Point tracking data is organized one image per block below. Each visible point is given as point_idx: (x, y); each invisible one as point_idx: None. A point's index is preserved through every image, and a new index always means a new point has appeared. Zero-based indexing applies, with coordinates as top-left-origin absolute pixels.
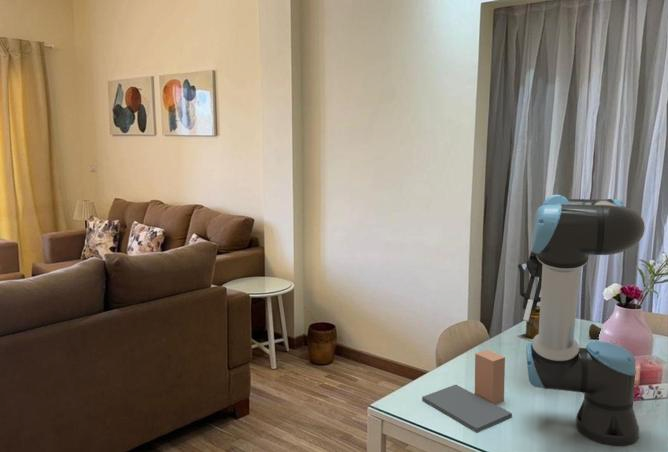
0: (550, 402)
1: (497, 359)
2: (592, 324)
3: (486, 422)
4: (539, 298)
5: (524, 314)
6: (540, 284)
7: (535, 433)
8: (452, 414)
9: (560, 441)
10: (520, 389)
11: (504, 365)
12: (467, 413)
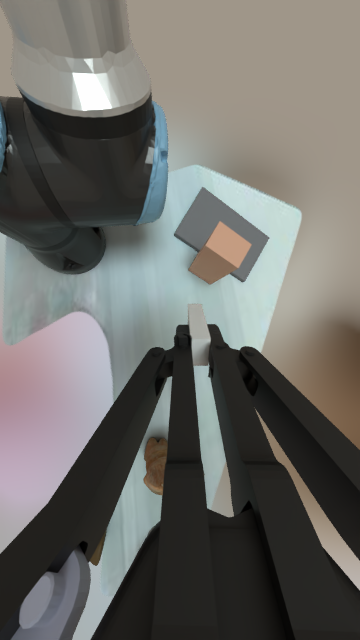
0: (138, 287)
1: (215, 231)
2: (96, 562)
3: (196, 202)
4: (169, 356)
5: (202, 310)
6: (178, 418)
7: None
8: (231, 209)
9: None
10: (175, 307)
11: (201, 251)
12: (218, 216)
